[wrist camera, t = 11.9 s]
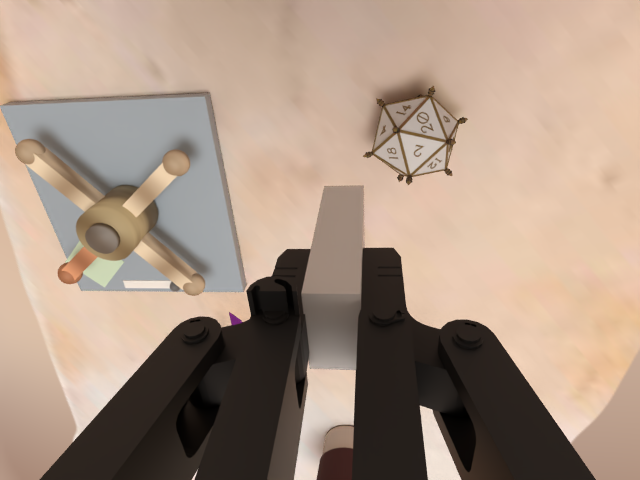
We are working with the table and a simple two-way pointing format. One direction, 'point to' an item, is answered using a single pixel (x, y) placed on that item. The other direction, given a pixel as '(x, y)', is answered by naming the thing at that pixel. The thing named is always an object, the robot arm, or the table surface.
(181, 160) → the capstan
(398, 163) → the game die
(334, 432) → the coffee cup
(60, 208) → the plate
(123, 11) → the table surface
